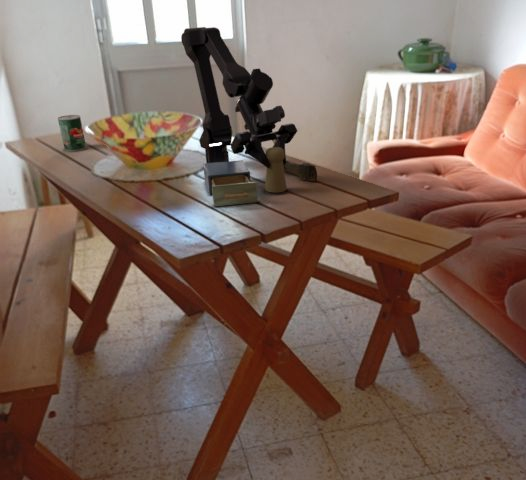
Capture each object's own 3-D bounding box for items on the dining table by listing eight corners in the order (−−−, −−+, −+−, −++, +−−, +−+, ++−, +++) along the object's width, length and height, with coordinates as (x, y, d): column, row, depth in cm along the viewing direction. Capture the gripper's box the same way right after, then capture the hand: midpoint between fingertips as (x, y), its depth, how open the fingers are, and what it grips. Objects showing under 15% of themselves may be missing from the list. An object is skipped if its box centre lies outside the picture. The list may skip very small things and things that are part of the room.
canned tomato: (83, 151, 203) (76, 118, 197) (61, 151, 203) (54, 119, 197) (89, 145, 210) (82, 114, 204) (68, 146, 210) (61, 115, 204)
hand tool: (269, 171, 172) (269, 155, 170) (279, 168, 174) (279, 153, 172) (309, 185, 159) (309, 168, 157) (319, 182, 161) (320, 165, 159)
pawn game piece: (279, 193, 152) (278, 151, 145) (260, 190, 154) (259, 149, 148) (290, 187, 156) (290, 146, 150) (272, 184, 159) (271, 144, 152)
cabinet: (251, 191, 156) (250, 171, 153) (209, 195, 154) (207, 175, 151) (243, 179, 166) (242, 160, 163) (204, 182, 165) (203, 163, 162)
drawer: (260, 206, 145) (259, 186, 142) (215, 210, 143) (213, 190, 140) (249, 187, 158) (248, 169, 155) (208, 191, 156) (206, 173, 154)
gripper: (233, 100, 141) (258, 154, 139) (293, 91, 149) (317, 142, 148) (220, 127, 151) (243, 178, 149) (277, 117, 159) (300, 165, 158)
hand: (277, 165), depth 151 cm, fingers closed on pawn game piece, 5 cm apart
